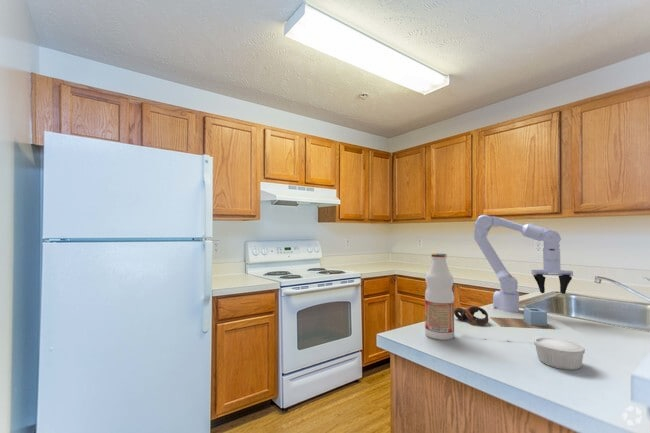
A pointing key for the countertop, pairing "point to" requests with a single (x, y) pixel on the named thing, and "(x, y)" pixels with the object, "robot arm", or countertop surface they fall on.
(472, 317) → the brown curled shape
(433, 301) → the fruit juice
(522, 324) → the stub board
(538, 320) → the collar
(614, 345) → the countertop surface
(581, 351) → the ramekin
